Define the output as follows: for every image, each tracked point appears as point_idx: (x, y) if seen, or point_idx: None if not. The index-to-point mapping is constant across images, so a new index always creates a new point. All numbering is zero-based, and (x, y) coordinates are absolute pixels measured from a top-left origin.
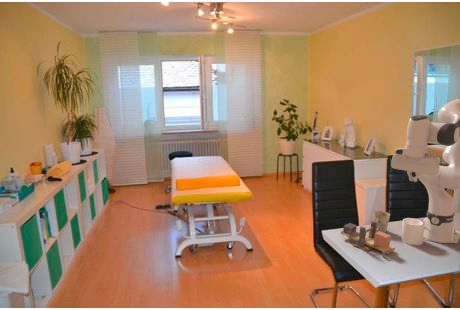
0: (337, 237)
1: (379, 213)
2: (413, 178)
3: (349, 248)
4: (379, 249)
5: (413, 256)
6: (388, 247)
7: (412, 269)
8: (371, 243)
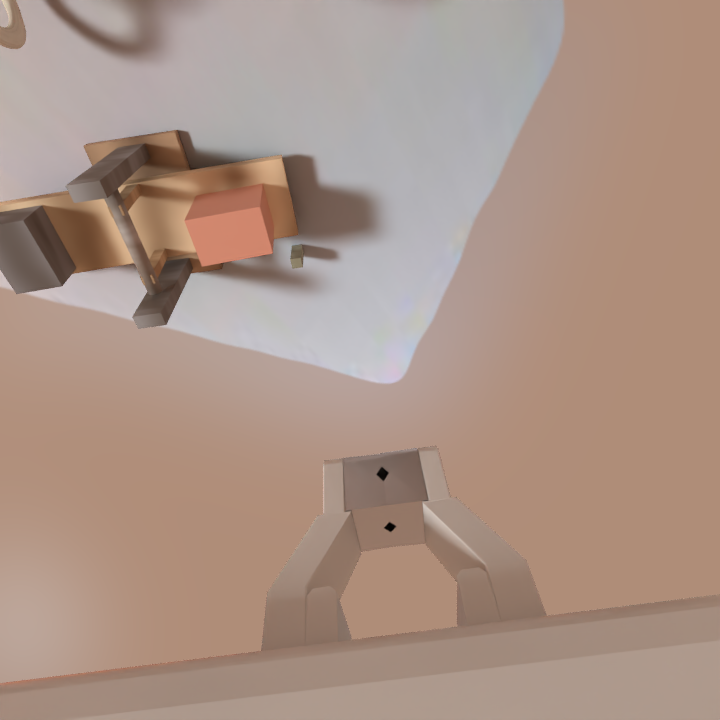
0: None
1: None
2: (410, 535)
3: None
4: None
5: (370, 115)
6: (269, 196)
7: (431, 240)
8: None
